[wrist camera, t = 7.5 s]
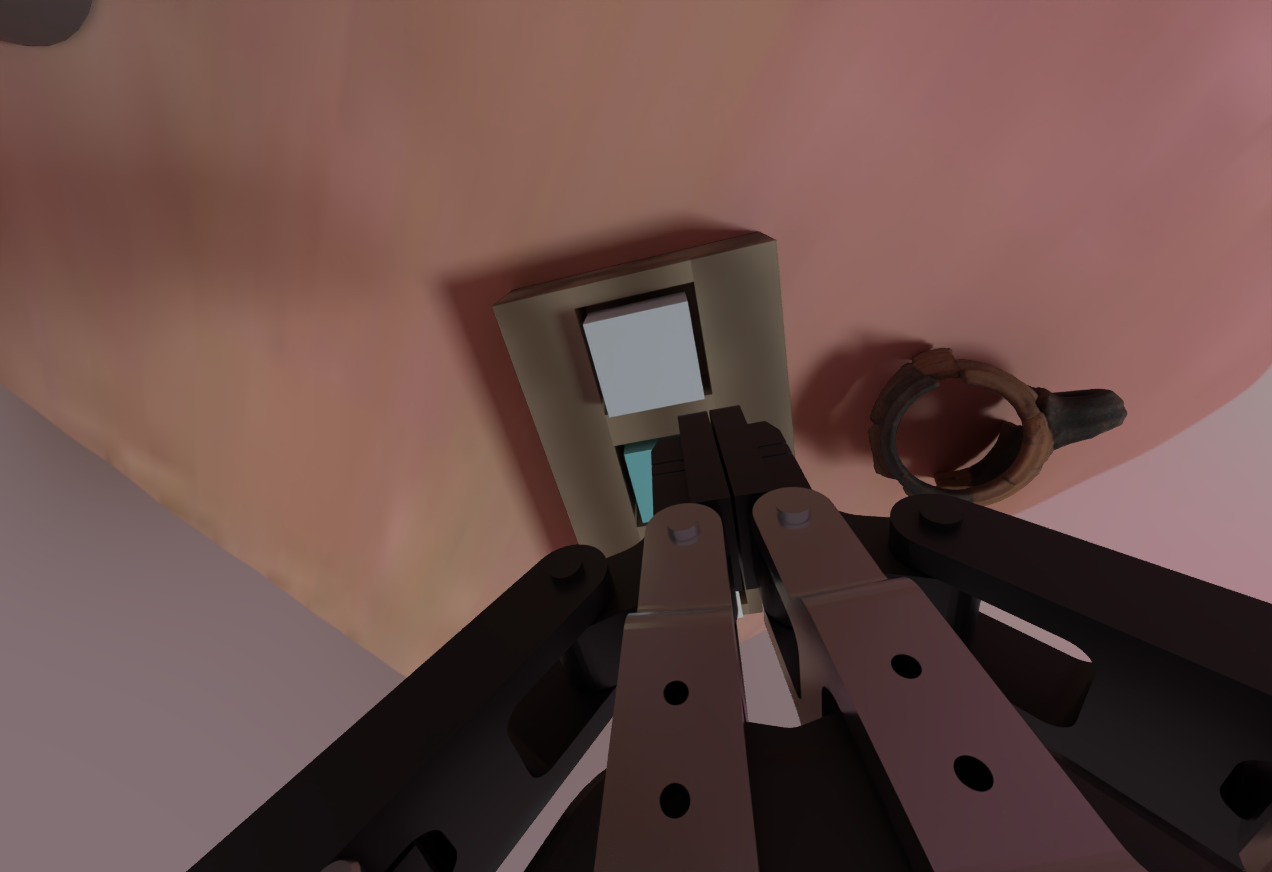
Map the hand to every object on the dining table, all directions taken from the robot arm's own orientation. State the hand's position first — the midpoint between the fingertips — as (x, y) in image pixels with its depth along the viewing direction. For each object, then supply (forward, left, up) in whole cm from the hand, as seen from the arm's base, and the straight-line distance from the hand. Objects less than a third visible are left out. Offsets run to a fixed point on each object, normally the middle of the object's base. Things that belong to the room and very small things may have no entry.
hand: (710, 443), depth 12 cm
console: (-2, -10, -18) cm, 20 cm away
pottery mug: (+16, -11, -18) cm, 26 cm away
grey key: (-2, -2, -14) cm, 15 cm away
